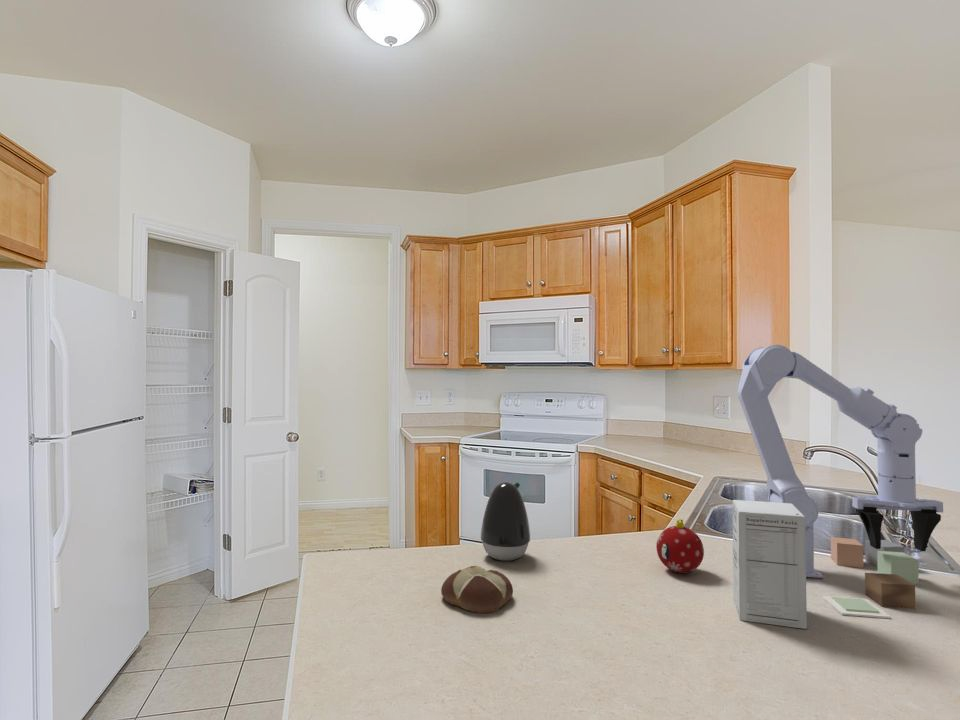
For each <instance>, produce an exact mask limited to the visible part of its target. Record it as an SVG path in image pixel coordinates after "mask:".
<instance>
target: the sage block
mask: <svg viewBox="0 0 960 720" xmlns="http://www.w3.org/2000/svg"><path fill="white" fill-rule="evenodd" d="M877 573H880V574H896V575H898V576H900V577H902V578H904V579H905V580H907V581H909V582H910V583H912V584H914V585H919V559H917V558H915V557H913V556H911V555H909V554H907V553H905V552H904V553H903V552H888V551H877Z"/></svg>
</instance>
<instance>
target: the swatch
mask: <svg viewBox="0 0 960 720" xmlns="http://www.w3.org/2000/svg"><path fill="white" fill-rule="evenodd" d="M820 598H821V599H823V600H824V601H825V602H826V603H827V604H829V605H830V606H831V607H832V608H833V609H834V610H835V611H837V613H839V614H840V615H842V616H851V617H863V618H864V617H865V618H878V619H888V620H889V619H890V620H891V619H892V617H891V615H889V614H888V613H887V612H885V611H884V610H882V609H881V607H879V606H877V604H874V603H873V602H872V601H870V600H869V599H867V598H856V597H846V596H845V597H844V596H830V595H821V597H820Z"/></svg>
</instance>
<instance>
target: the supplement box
mask: <svg viewBox="0 0 960 720" xmlns="http://www.w3.org/2000/svg"><path fill="white" fill-rule="evenodd" d="M732 560H733V561H732V562H733V563H732V566H733V567H732V568H733V572H732V573H733V576H732V577H733V602H734V606H735V608H736V613H737V615H738V619H739V621H744V622H752V623H758V624H764V625H765V624H767V625H771V626H772V625H773V626H779V627H780V626H782V627H788V628H796V629H803V630H807V629H808V616H807V615H808V613H807V611H808V610H807V605H808V604H807V577H806V554H805V517H804V515H803V514H802V513H801V512H800V511H799V510H798V509H797V508H796V507H795V506H794V505H793V504H790V503H775V502H768V501H759V500H758V501H757V500H741V499H732Z"/></svg>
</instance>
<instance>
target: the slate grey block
mask: <svg viewBox="0 0 960 720" xmlns="http://www.w3.org/2000/svg"><path fill="white" fill-rule="evenodd" d="M864 543H865V545H864V546H865V549H864V550H865V552H864V555H865V560H864V561H865V563H867V562H868V563H867V564H870V565H872V566H874V567H877V551H888V552H903V553H905V546H904V545H901V544H898V543H895V542H892V541H890V540H887V539H881V547H880V549H875V548H874V547H872V546H870V541H869V539H867V540H866V539H865V542H864ZM877 568H878V567H877Z"/></svg>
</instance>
